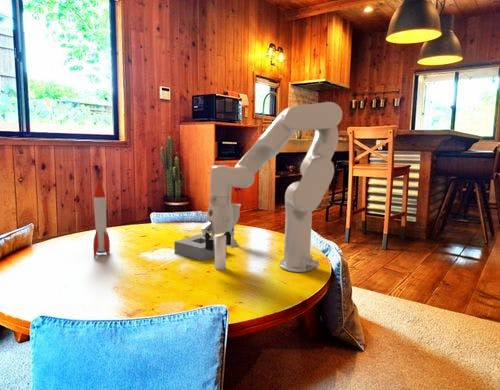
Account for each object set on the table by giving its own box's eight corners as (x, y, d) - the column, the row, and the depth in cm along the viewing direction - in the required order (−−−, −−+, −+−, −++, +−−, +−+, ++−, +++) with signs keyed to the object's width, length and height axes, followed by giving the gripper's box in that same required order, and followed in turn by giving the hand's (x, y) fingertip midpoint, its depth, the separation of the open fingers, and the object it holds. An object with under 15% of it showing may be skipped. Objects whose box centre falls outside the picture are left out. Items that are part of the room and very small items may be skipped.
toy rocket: (93, 257, 144) (89, 180, 139) (95, 253, 149) (91, 178, 144) (109, 256, 145) (105, 180, 140) (110, 252, 150) (106, 178, 146)
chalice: (233, 248, 160) (233, 207, 157) (221, 245, 164) (221, 205, 161) (243, 244, 165) (244, 204, 163) (231, 241, 169) (232, 202, 167)
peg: (227, 267, 135) (228, 235, 134) (220, 270, 132) (221, 237, 130) (219, 265, 138) (219, 233, 136) (212, 268, 135) (212, 236, 133)
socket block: (226, 251, 154) (226, 240, 154) (201, 260, 142) (201, 248, 142) (200, 245, 163) (200, 234, 162) (174, 253, 151) (174, 241, 150)
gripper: (211, 204, 122) (210, 254, 125) (243, 199, 136) (241, 244, 139) (195, 201, 126) (193, 250, 129) (227, 196, 140) (225, 240, 143)
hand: (218, 247), depth 134 cm, fingers open, 9 cm apart
